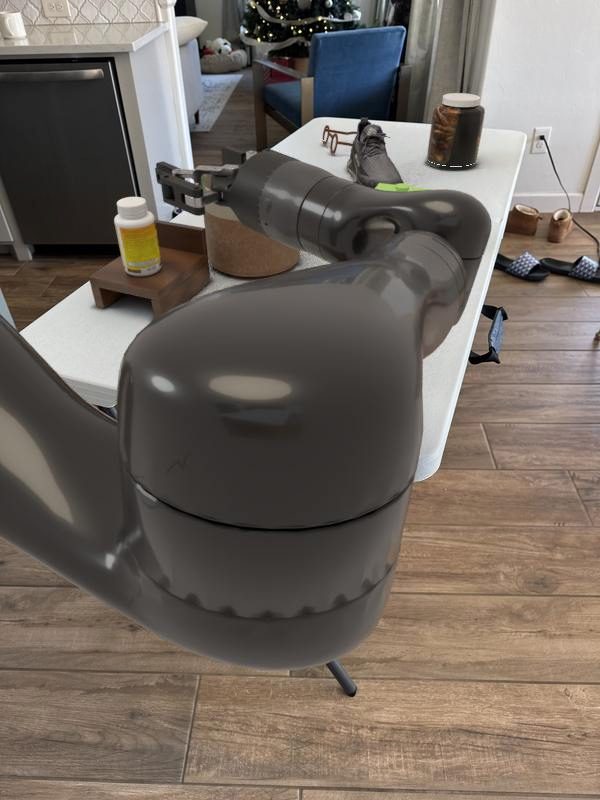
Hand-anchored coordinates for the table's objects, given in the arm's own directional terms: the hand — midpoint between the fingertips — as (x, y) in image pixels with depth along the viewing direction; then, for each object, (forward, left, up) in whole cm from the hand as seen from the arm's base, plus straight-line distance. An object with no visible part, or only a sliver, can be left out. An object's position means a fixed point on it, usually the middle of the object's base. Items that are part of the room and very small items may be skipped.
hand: (193, 163), depth 63 cm
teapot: (+43, -14, -24) cm, 51 cm away
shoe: (+74, 0, -25) cm, 78 cm away
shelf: (+10, +16, -24) cm, 31 cm away
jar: (+95, -14, -24) cm, 99 cm away
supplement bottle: (+8, +16, -20) cm, 26 cm away
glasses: (+98, +13, -25) cm, 102 cm away
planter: (+27, +7, -24) cm, 37 cm away
